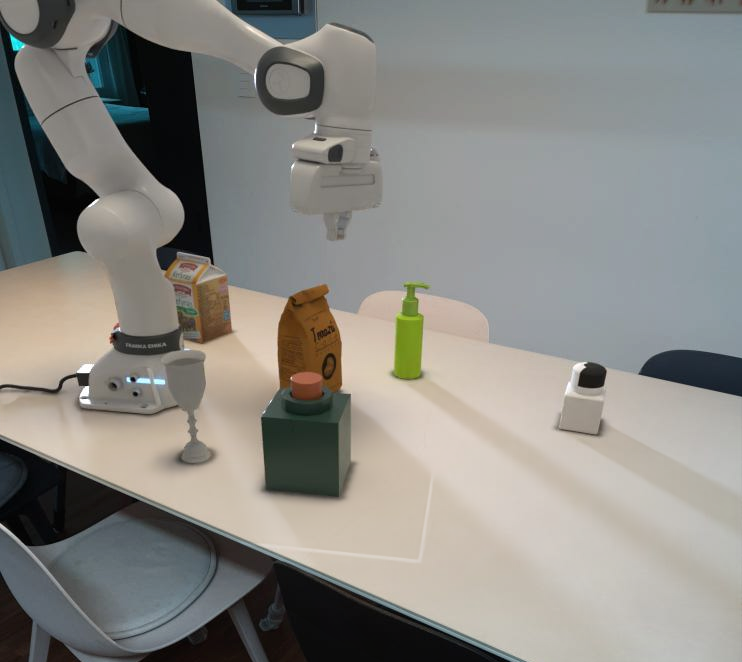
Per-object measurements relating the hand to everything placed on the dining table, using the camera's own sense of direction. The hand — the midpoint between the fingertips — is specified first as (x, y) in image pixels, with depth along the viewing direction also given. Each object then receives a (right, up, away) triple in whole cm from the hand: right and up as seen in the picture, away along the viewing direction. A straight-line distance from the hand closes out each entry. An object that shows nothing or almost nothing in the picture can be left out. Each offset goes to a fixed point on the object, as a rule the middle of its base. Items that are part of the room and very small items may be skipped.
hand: (335, 239), depth 119 cm
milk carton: (-36, -2, +60) cm, 70 cm away
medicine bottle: (+46, -29, +19) cm, 58 cm away
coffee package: (-6, -22, +29) cm, 37 cm away
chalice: (-25, -36, +6) cm, 44 cm away
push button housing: (-4, -39, 0) cm, 39 cm away
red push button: (-4, -27, -7) cm, 28 cm away
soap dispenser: (+14, -16, +40) cm, 45 cm away
